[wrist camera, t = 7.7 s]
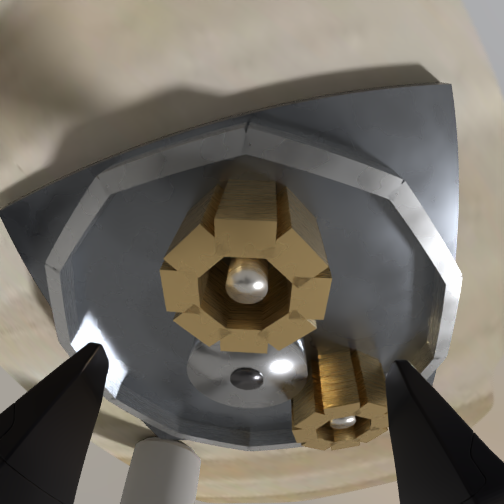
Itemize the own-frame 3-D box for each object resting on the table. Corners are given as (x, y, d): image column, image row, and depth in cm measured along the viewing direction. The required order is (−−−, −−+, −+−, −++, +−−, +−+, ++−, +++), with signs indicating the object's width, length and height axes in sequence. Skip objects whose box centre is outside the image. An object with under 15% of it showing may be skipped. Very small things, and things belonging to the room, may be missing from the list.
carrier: (7, 205, 16) (-38, 240, 12) (441, 82, 12) (496, 92, 8) (162, 430, 28) (153, 468, 24) (423, 398, 24) (435, 440, 20)
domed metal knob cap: (177, 312, 18) (166, 347, 16) (294, 293, 17) (296, 330, 14) (215, 382, 21) (210, 414, 19) (311, 370, 20) (314, 403, 18)
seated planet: (284, 361, 20) (285, 414, 16) (381, 342, 19) (396, 393, 15) (299, 409, 23) (301, 454, 19) (379, 394, 22) (389, 438, 18)
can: (131, 446, 32) (109, 531, 21) (144, 426, 28) (118, 530, 18) (189, 465, 33) (176, 549, 23) (212, 448, 30) (198, 549, 19)
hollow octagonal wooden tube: (190, 291, 17) (173, 346, 14) (181, 178, 14) (152, 217, 10) (308, 297, 17) (315, 354, 13) (323, 184, 14) (341, 225, 10)
